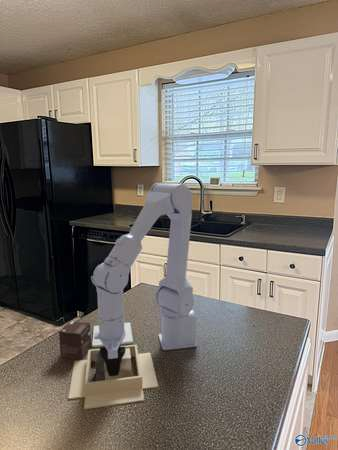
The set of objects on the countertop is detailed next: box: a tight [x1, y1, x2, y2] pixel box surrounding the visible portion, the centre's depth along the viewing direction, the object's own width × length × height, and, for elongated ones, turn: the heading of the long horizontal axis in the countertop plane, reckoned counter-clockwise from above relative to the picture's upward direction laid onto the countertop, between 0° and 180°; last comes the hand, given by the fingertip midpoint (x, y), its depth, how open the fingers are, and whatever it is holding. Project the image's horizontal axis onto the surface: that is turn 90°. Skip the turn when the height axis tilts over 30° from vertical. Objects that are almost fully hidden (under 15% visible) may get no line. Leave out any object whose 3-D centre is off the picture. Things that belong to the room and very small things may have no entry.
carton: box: [67, 344, 159, 410], centre depth 75 cm, size 19×20×3 cm
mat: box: [91, 321, 134, 349], centre depth 92 cm, size 11×11×1 cm
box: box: [58, 320, 92, 361], centre depth 83 cm, size 6×6×7 cm
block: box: [94, 348, 132, 381], centre depth 74 cm, size 8×4×5 cm, turn 101°
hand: (113, 368), depth 75 cm, fingers closed on block, 4 cm apart
